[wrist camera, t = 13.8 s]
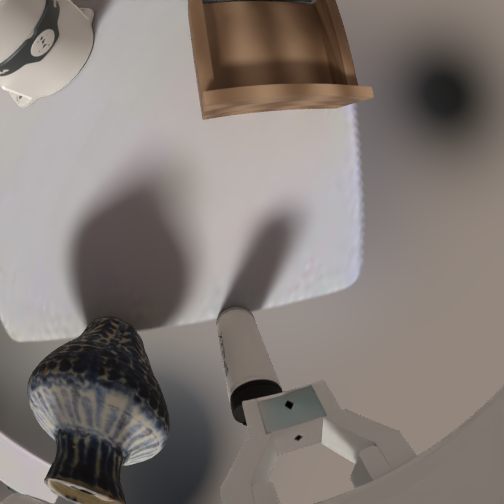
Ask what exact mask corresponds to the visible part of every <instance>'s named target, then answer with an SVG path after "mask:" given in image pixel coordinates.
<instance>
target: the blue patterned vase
mask: <svg viewBox="0 0 504 504" xmlns="http://www.w3.org/2000/svg"><path fill="white" fill-rule="evenodd" d="M27 390H28V391H27V393H28V398H29V403H30V406H31V409H32V411H33V413H34V415H35V417H36V419H37V421H38V422H39V424H40V425H41V426H42V428H43V429H44V430H45V431H46V432H47V433H48V434H49V435H50V436H51V437H52V438H53V439H54V440H55V441H56V443H57V451H56V458H55V461H54V463H53V464H52V466H51V467H50V469H49V472H48V474H47V476H46V478H45V479H44V483H45V484H46V486H47V487H48V488H49V489H50V491H52V492H53V493H54V494H56V495H58V496H60V497H62V498H64V499H66V500H68V501H69V502H73V503H76V504H126V502H125V498H124V493H123V490H122V487H121V483H120V473H121V470H122V466H123V465H130V464H134V463H139V462H142V461H145V460H147V459H150V458H152V457H153V456H155V455H156V454H157V453H158V452H159V451H161V450H162V448H163V447H164V445H165V443H166V442H167V439H168V435H169V414H168V410H167V405H166V402H165V399H164V396H163V394H162V392H161V389H160V387H159V384H158V382H157V380H156V378H155V376H154V374H153V372H152V369H151V366H150V362H149V360H148V357H147V355H146V353H145V349H144V345H143V342H142V339H141V338H140V336H139V335H138V333H137V332H136V331H135V330H134V329H133V328H132V327H131V326H129V325H128V324H126V323H125V322H123V321H121V320H119V319H116V318H99V319H96V320H95V321H93V322H92V323H90V324H89V325H88V326H87V328H86V329H85V331H84V332H83V333H82V334H81V335H80V336H79V337H78V338H76V339H74V340H72V341H70V342H68V343H66V344H64V345H62V346H60V347H59V348H57V349H56V350H54V351H53V352H52V353H50V354H49V355H48V356H47V357H45V358H44V359H43V360H42V361H41V362H40V363H39V365H38V366H37V367H36V368H35V370H34V371H33V372H32V375H31V377H30V379H29V382H28V387H27Z"/></svg>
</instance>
